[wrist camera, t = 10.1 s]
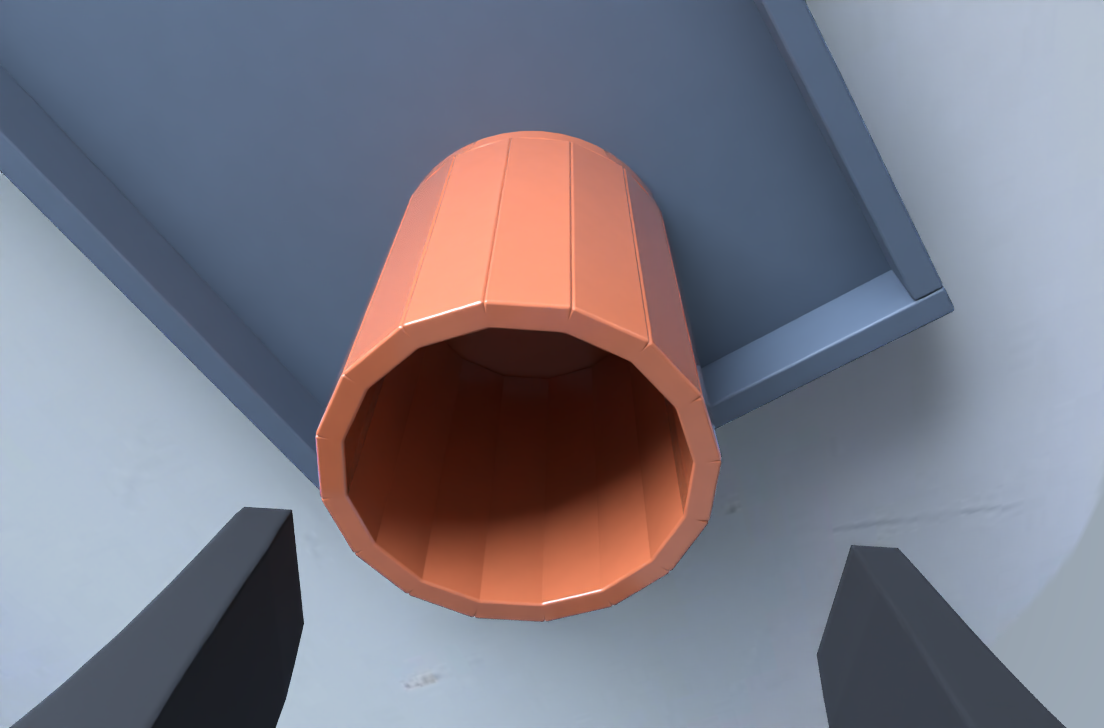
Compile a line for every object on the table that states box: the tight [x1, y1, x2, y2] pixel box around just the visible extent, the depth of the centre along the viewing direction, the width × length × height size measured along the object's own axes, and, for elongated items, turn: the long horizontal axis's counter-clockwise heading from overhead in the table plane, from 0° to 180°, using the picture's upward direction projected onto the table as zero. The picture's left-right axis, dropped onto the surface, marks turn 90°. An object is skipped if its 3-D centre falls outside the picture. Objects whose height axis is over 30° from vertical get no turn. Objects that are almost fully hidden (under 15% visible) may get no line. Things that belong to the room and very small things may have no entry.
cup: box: [315, 131, 722, 622], centre depth 16 cm, size 6×6×7 cm
